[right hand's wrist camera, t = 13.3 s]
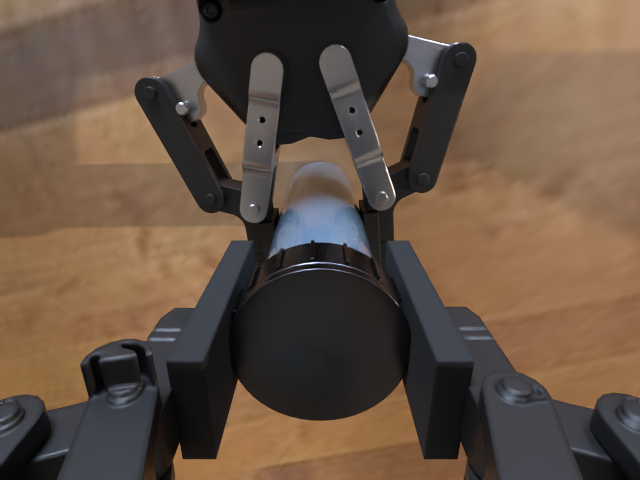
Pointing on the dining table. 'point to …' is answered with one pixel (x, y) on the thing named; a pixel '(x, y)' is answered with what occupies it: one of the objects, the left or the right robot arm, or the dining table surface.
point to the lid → (320, 332)
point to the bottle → (320, 211)
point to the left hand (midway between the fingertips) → (326, 278)
